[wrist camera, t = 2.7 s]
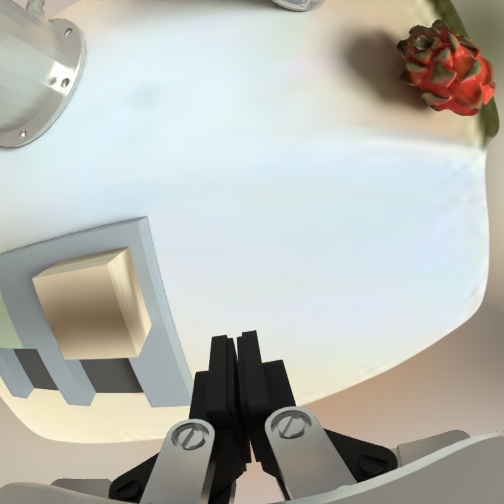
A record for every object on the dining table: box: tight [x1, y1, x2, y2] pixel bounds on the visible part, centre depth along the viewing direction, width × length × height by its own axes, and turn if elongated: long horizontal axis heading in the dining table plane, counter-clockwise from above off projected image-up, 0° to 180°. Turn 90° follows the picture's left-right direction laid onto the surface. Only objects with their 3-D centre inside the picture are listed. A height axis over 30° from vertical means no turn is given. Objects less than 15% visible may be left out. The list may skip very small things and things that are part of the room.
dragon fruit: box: [397, 19, 496, 116], centre depth 15 cm, size 8×8×12 cm
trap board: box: [0, 216, 194, 407], centre depth 20 cm, size 16×24×2 cm, turn 98°
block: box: [32, 247, 152, 360], centre depth 16 cm, size 6×6×4 cm
